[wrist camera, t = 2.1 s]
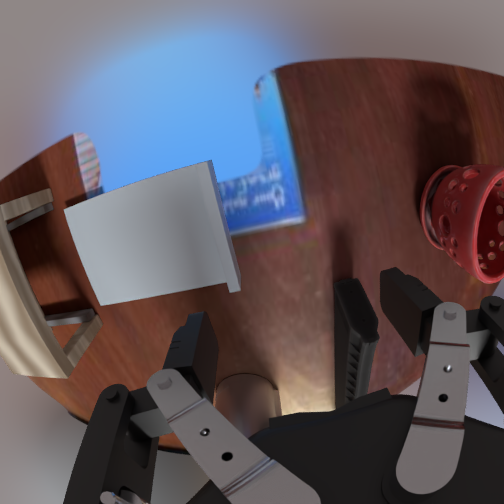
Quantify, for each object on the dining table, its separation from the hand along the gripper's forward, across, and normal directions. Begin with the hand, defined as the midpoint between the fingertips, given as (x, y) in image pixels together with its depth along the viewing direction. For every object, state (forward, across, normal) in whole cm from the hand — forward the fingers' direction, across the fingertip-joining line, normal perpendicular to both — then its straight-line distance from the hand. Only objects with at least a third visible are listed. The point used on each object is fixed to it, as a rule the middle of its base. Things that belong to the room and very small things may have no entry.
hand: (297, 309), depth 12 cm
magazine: (+21, -7, +26) cm, 34 cm away
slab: (+20, +14, 0) cm, 25 cm away
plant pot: (+20, -25, +4) cm, 33 cm away
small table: (+20, +33, 0) cm, 39 cm away
